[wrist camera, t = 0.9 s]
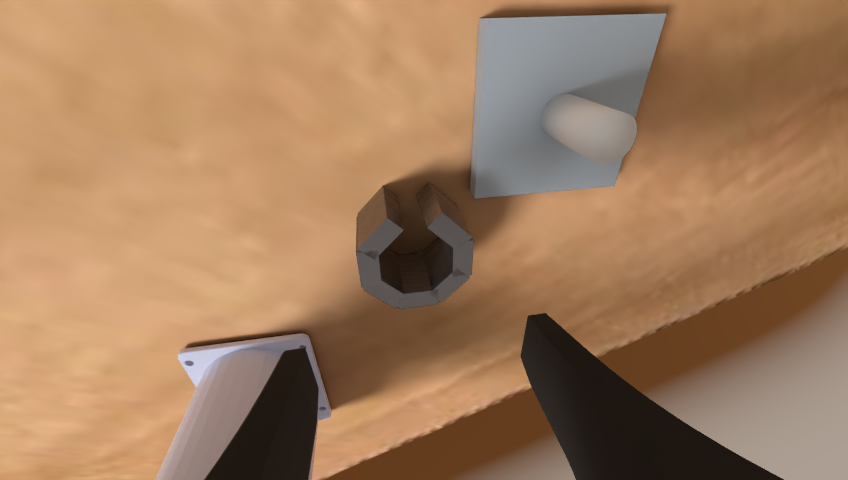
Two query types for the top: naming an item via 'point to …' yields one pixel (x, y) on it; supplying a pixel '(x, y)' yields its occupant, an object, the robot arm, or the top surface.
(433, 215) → the snap ring
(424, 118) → the top surface
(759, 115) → the top surface
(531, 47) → the post stand
